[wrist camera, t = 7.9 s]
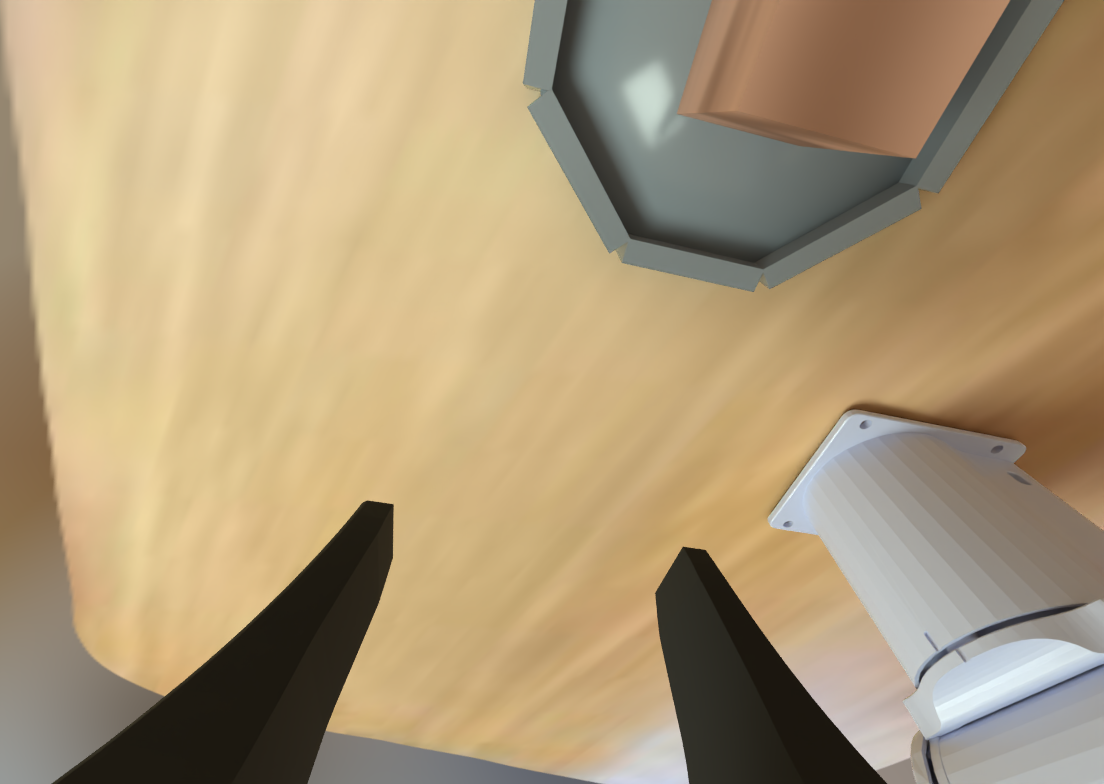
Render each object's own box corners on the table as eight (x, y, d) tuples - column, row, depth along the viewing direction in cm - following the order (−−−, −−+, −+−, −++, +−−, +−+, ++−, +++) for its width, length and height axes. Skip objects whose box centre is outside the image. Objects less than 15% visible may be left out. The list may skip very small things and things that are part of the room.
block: (879, -30, 11) (1083, -123, 7) (799, 146, 13) (915, 158, 9) (735, -76, 10) (856, -206, 6) (676, 114, 13) (737, 111, 8)
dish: (1146, -229, 10) (1255, -293, 8) (831, 297, 17) (858, 315, 15) (607, -454, 8) (618, -583, 7) (506, 224, 15) (501, 236, 14)
